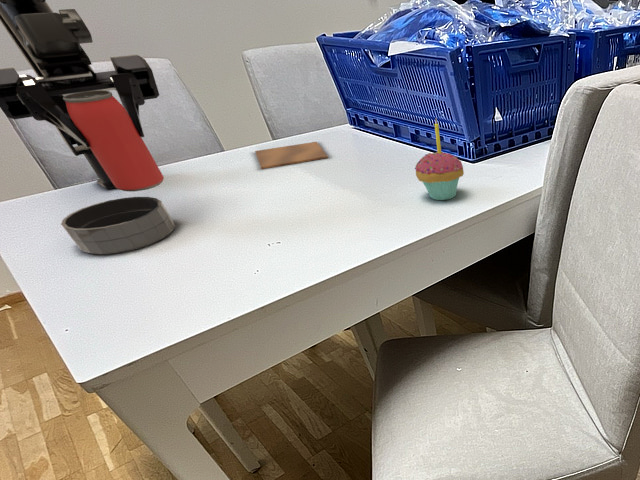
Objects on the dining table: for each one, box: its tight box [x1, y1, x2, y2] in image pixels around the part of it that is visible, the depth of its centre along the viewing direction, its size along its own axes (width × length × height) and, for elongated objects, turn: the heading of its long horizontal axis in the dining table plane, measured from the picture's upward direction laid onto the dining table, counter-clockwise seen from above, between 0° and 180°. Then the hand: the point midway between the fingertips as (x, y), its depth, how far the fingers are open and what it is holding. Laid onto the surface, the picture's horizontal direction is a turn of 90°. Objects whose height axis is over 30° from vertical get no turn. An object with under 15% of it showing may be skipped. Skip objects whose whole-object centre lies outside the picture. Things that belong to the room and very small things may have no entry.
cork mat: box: [254, 141, 329, 170], centre depth 102 cm, size 14×14×1 cm
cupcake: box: [414, 117, 465, 201], centre depth 78 cm, size 9×8×12 cm
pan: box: [60, 196, 175, 255], centre depth 71 cm, size 13×13×4 cm
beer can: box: [63, 90, 165, 193], centre depth 66 cm, size 7×7×12 cm
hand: (115, 140), depth 65 cm, fingers closed on beer can, 6 cm apart
